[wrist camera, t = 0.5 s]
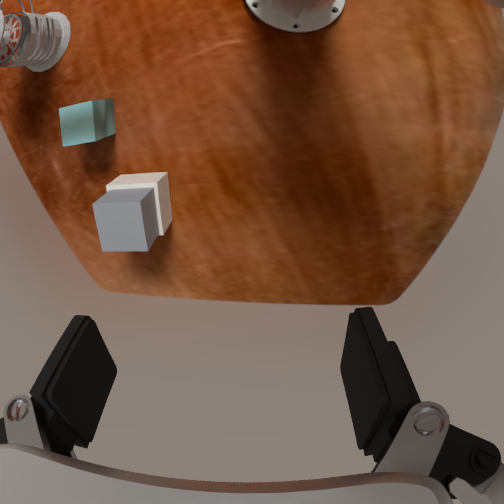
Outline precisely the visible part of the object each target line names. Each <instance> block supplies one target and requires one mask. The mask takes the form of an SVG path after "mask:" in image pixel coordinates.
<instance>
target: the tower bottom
mask: <svg viewBox="0 0 504 504" xmlns="http://www.w3.org/2000/svg"><path fill="white" fill-rule="evenodd" d="M148 187H154V192H155V201H156V209H157V217H158V225H159V234H158V235H164V233H165V232H166V230H167V228H168V227H169V225H170V223H171V221H172V212H171V203H170V193H169V182H168V172H158V173H142V174H128V175H120V176H119V177H117V178H116V179H114V180H113V181H112V182H110V183H109V184H108V185H106V189H107V192H108V191H109V190H115V189H130V188H148Z"/></svg>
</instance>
